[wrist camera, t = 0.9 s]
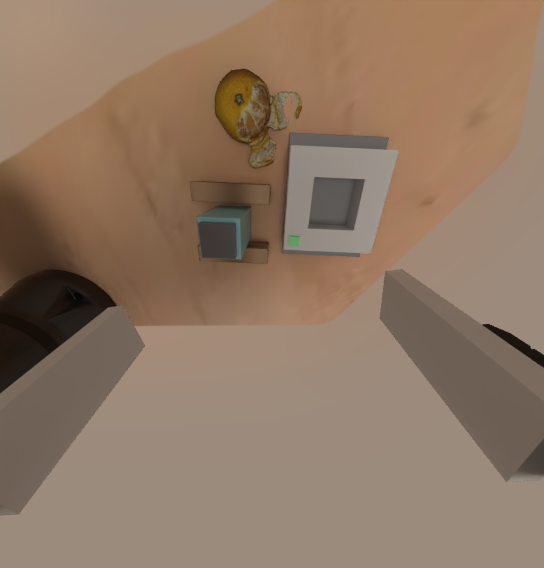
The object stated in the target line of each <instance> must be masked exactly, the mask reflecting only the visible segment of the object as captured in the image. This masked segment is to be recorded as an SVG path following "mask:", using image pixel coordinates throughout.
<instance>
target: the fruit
mask: <svg viewBox="0 0 544 568" xmlns="http://www.w3.org/2000/svg"><path fill="white" fill-rule="evenodd" d="M287 94H290V95H291V96H292V98H293V99H294V98H296V100H297V102H298V108H297V110H296V112H295V116H294V118H296V119H298V117H299V113H300V111H301V109H302V105H301V100H300V96H299V95H298V94H297V93H295V92H292V91H291V92H290V93H288V92H280V93H278V94H277V95H276V96H270V95H269V91H268V88H267V85H266V84H265V82H264V81H263V80H262V79H261V78H260V77H259V76H257V75H255V74H254V73H253V72H251V71H249V70H247V69H239V70H238V69H237V70H231V71H230V72H229V73H228V74H227V75H226V76H225V77H224V78H223V79H222V81H220V83H219V85H218V87H217V91H216V94H215V113H216V117H217V118H218V119H219V120H220V122H221V124H222V125H223V127H224V129H225V130H226V131H227V133H228V134H229V135H230V136H231V137H232V138H234V139H235V140H237V141H239V142H243V143H248V144H249V145H250V146H251V148H252V154H251V157H250V158H249V164H250V165H251V166H252V167H253V168H258V167H260V166H267V165H269V164H271V163H273V162H274V160H275V156H274V154H273V153H272V151H274V150H276V143H275V142H274V141H272V140H271V139H270V138H269V135H268V131H267V130H268V128H269V127H272V128H274V130H277V129H282V128H286V127H287V126H288V122H289V120H288V119H287V118H285V115H284V111H283V106H284V105H285V104H286V96H287ZM291 103H292V101H291ZM267 155H269V156H271V157H272V159H270V160H267V159H265V157H266V156H267Z"/></svg>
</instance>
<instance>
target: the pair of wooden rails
mask: <svg viewBox="0 0 544 568" xmlns="http://www.w3.org/2000/svg"><path fill="white" fill-rule="evenodd" d="M270 186H271V185H267V184H246V183H224V182H203V181H194V182H190V189H191V197H192V201H206V202H227V203H248V204H270ZM198 252H199V260H200V261H218V262H240V263H262V264H267V262H268V243H264V242H248V245H247V247H246V250H245V252H244V254H243V257H242V259H241V260H240V259H218V258H202V256H201V248H200V244H199V245H198Z"/></svg>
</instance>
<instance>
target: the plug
mask: <svg viewBox="0 0 544 568" xmlns="http://www.w3.org/2000/svg"><path fill="white" fill-rule="evenodd" d="M197 223H198V232H199V240H200V248H201V256H202V258H218V259H240V260H241V259H242V257H243V254H244V252H245V250H246V247H247V245H248V242H249V240H250V238H251V207H248V206H227V205H220V206H218V207H215V208H213V209H211V210H209V211H207V212H205V213H203V214H201V215H199V216H197Z"/></svg>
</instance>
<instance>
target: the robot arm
mask: <svg viewBox="0 0 544 568" xmlns="http://www.w3.org/2000/svg"><path fill="white" fill-rule="evenodd" d="M380 319H381V321H382V322H383V323H384V324H385V326H386V327H387V328H388V330H389V331H390V332H391V333H392V335H393V336H394V337H395V339H396V340H397V341H398V343H399V344H400V345H401V346H402V348H403V349H404V350H405V352H406V353H407V354H408V356H409V357H410V358H411V359H412V361H413V362H414V363H415V365H416V366H417V367H418V368H419V370H420V371H421V372H422V374H423V375H424V376H425V377H426V379H427V380H428V381H429V383H430V384H431V385H432V387H433V388H434V389H435V390H436V392H437V393H438V394H439V396H440V397H441V398H442V400H443V401H444V402H445V403H446V405H447V406H448V407H449V409H450V410H451V411H452V412H453V414H454V415H455V416H456V418H457V419H458V420H459V422H460V423H461V424H462V425H463V427H464V428H465V429H466V431H467V432H468V433H469V434H470V436H471V437H472V438H473V440H474V441H475V442H476V443H477V445H478V446H479V447H480V449H481V450H482V451H483V452H484V454H485V455H486V456H487V458H488V459H489V460H490V462H491V463H492V464H493V465H494V467H495V468H496V469H497V471H498V472H499V473H500V474H501V476H502V477H503V478H504V480H505V481H506V482H521V481H536V480H541V479H542V478H543V477H544V355H543V354H541V353H540V352H538V351H537V350H535V349H531V348H530V346H529V345H528V344H526V343H525V342H523V341H521V340H520V339H518V338H517V337H515V336H514V335H512V334H511V333H508V332H506V331H504V330H501V329H499V328H497V327H494V326H492V325H490V324H483V325H481V324H480V323H478V322H477V321H475V320H474V319H473V318H471V317H470V316H468V315H467V314H465V313H464V312H463V311H461V310H460V309H458V308H457V307H455V306H454V305H453V304H451V303H450V302H448V301H447V300H445V299H444V298H443V297H441V296H440V295H438V294H437V293H435V292H434V291H432V290H431V289H430V288H428V287H427V286H425V285H424V284H422V283H421V282H420V281H418V280H417V279H415V278H414V277H412V276H411V275H410V274H408V273H407V272H405V271H404V270H402V269H400V270H393V271H385V278H384V286H383V295H382V304H381V312H380ZM144 347H145V345H144V343H143V341H142V339H141V338H140V336H139V334H138V332H137V331H136V329H135V327H134V325H133V324H132V322H131V320H130V318H129V316H128V315H127V313H126V311H125V309H124V308H123V306H115V304H114V303H113V301H112V300H111V299H110V298H109V297H108V295H107V294H106V293H105V292H103V291H102V290H101V289H100V288H99V287H97V286H96V285H95V284H93V283H91V282H90V281H88V280H86V279H84V278H82V277H80V276H78V275H75V274H72V273H69V272H65V271H58V270H47V271H41V272H38V273H36V274H33V275H31V276H28V277H26V278H23V279H22V280H20V281H18V282H17V283H16V284H14V285H13V286H12V287H11V288H10V289H9V290H7V291H6V292H5V293H4V294H3V295H2V296H0V515H15V514H19V513H20V512H21V511H22V509H23V508H24V507H25V505H26V504H27V502H28V501H29V500H30V498H31V497H32V496H33V495H34V493H35V492H36V491H37V489H38V488H39V487H40V485H41V484H42V483H43V481H44V480H45V479H46V477H47V476H48V475H49V473H50V472H51V471H52V469H53V468H54V467H55V465H56V464H57V463H58V461H59V460H60V459H61V457H62V456H63V454H64V453H65V452H66V451H67V449H68V448H69V447H70V445H71V444H72V443H73V441H74V440H75V439H76V437H77V436H78V435H79V433H80V432H81V431H82V429H83V428H84V426H85V425H86V424H87V423H88V421H89V420H90V419H91V417H92V416H93V415H94V413H95V412H96V411H97V409H98V408H99V407H100V405H101V404H102V403H103V401H104V400H105V399H106V397H107V396H108V395H109V393H110V392H111V391H112V389H113V388H114V387H115V385H116V384H117V383H118V381H119V380H120V379H121V377H122V376H123V375H124V373H125V372H126V371H127V369H128V368H129V367H130V365H131V364H132V363H133V361H134V360H135V359H136V357H137V356H138V355H139V353H140V352H141V351H142V349H143V348H144Z"/></svg>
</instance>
